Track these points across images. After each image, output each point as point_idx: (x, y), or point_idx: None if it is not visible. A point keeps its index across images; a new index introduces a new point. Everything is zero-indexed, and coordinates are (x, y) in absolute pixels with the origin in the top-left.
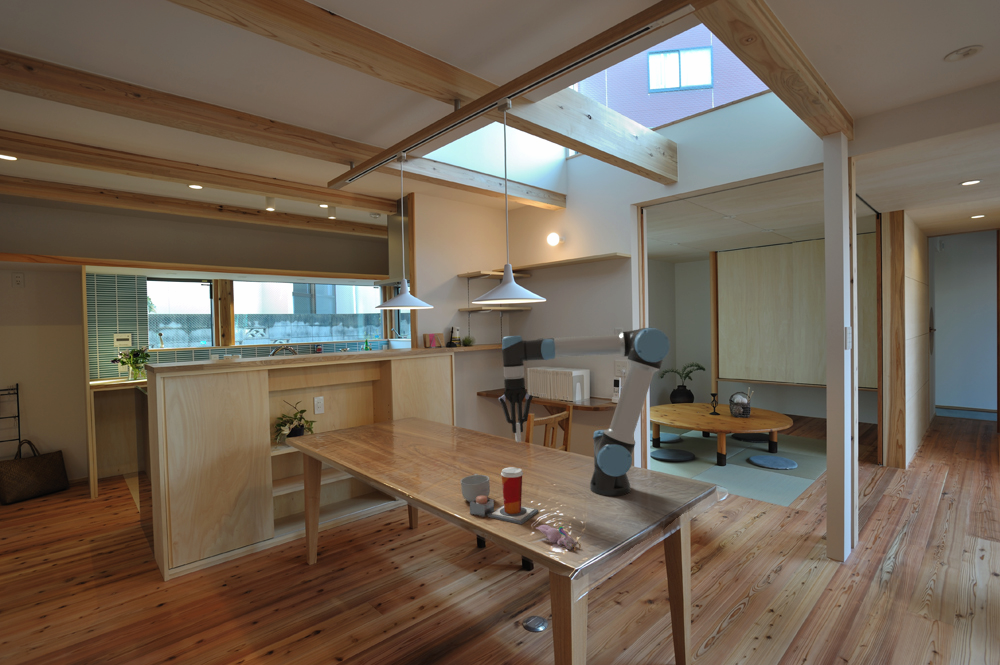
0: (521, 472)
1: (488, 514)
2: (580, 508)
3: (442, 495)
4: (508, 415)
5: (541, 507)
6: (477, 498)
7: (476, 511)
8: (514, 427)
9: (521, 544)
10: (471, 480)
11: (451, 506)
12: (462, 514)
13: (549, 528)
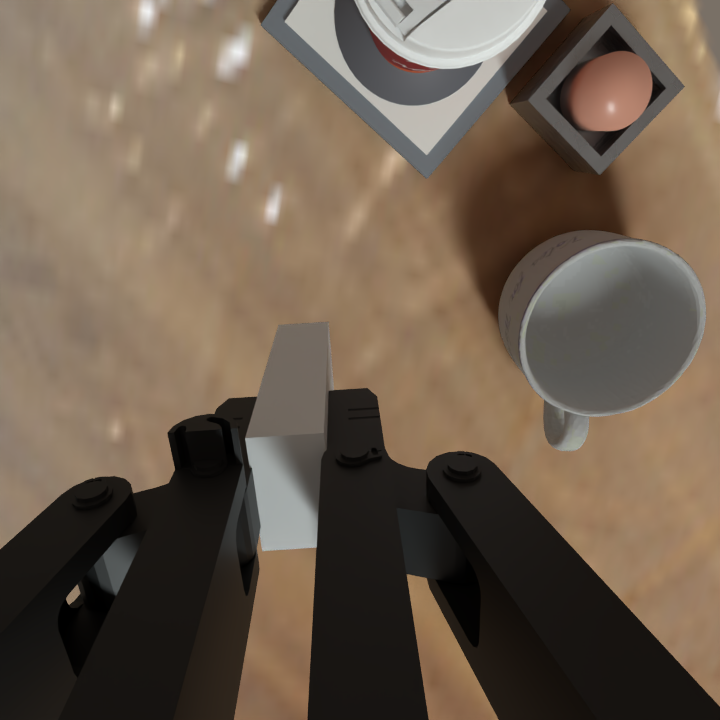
0: None
1: (565, 12)
2: (5, 24)
3: (710, 398)
4: (518, 568)
5: (233, 98)
6: (647, 77)
7: None
8: (352, 430)
9: None
10: (602, 395)
11: (712, 232)
12: (690, 95)
13: None
